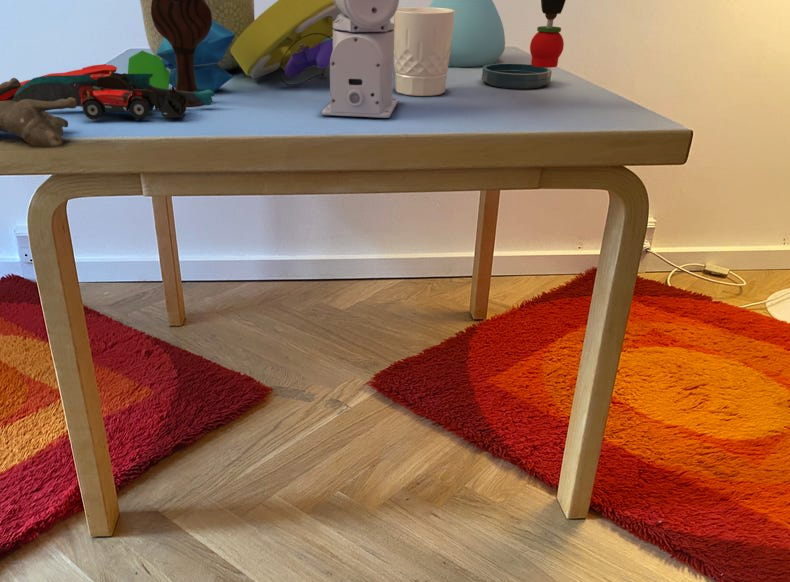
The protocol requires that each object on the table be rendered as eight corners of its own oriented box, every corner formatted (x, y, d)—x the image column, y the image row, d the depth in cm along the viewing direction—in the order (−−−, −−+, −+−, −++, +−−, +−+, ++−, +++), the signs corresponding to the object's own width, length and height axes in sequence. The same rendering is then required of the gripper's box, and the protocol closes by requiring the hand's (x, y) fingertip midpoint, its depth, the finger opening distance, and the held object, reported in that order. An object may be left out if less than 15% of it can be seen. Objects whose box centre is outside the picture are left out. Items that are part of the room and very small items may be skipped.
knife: (211, 74, 82) (216, 109, 86) (211, 68, 82) (216, 103, 86) (-8, 78, 79) (8, 114, 83) (-7, 72, 79) (9, 108, 84)
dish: (551, 91, 96) (553, 75, 95) (481, 88, 98) (482, 73, 97) (547, 78, 105) (549, 64, 104) (482, 76, 106) (483, 62, 105)
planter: (209, 82, 99) (197, -43, 91) (124, 70, 107) (107, -46, 99) (280, 65, 112) (275, -46, 104) (200, 56, 119) (190, -48, 111)
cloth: (146, 57, 102) (150, 74, 103) (58, 70, 104) (63, 86, 105) (69, 78, 79) (76, 99, 80) (-42, 94, 81) (-34, 114, 82)
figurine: (224, 99, 90) (210, -64, 81) (213, 107, 86) (198, -64, 77) (168, 97, 91) (148, -65, 81) (155, 105, 87) (132, -65, 77)
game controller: (258, 54, 96) (307, 32, 102) (281, 112, 100) (327, 88, 105) (303, 37, 89) (353, 14, 94) (327, 101, 93) (374, 75, 98)
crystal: (155, 29, 95) (238, 8, 92) (177, 95, 99) (257, 77, 97) (135, 36, 88) (224, 14, 86) (159, 106, 93) (244, 87, 90)
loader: (187, 110, 83) (182, 68, 81) (182, 119, 79) (177, 75, 77) (84, 111, 83) (76, 69, 80) (73, 121, 79) (65, 76, 76)
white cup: (401, 98, 91) (405, 13, 86) (383, 87, 98) (385, 7, 93) (457, 95, 93) (464, 12, 88) (436, 85, 100) (441, 6, 94)
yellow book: (262, 50, 112) (281, 78, 113) (213, 56, 94) (236, 89, 95) (343, -20, 105) (362, 10, 107) (307, -28, 87) (331, 8, 88)
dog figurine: (6, 118, 78) (-36, 160, 73) (-18, 71, 73) (-64, 112, 69) (100, 137, 75) (62, 181, 71) (81, 88, 70) (39, 133, 66)
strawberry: (561, 68, 85) (577, -35, 79) (528, 67, 86) (541, -35, 80) (559, 63, 89) (574, -36, 83) (527, 62, 89) (539, -36, 83)
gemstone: (158, 108, 91) (139, 121, 95) (178, 73, 93) (158, 87, 97) (118, 76, 87) (100, 91, 92) (139, 40, 89) (120, 57, 94)
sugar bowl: (504, 69, 111) (513, -13, 105) (410, 66, 113) (413, -15, 107) (502, 55, 124) (510, -19, 118) (417, 53, 126) (420, -21, 120)
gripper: (617, -131, 70) (592, 19, 77) (600, -121, 82) (579, 7, 90) (545, -130, 71) (527, 18, 78) (538, -121, 83) (523, 6, 91)
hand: (551, 12), depth 84 cm, fingers closed on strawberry
